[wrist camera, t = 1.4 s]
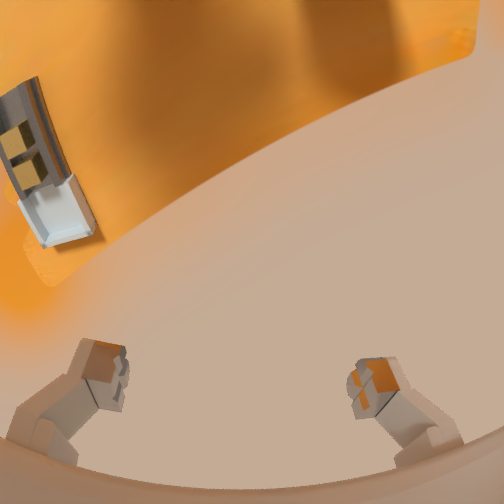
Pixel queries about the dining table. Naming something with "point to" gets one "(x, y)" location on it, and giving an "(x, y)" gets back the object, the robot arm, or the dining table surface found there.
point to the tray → (58, 213)
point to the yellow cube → (30, 171)
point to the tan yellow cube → (17, 139)
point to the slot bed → (35, 111)
